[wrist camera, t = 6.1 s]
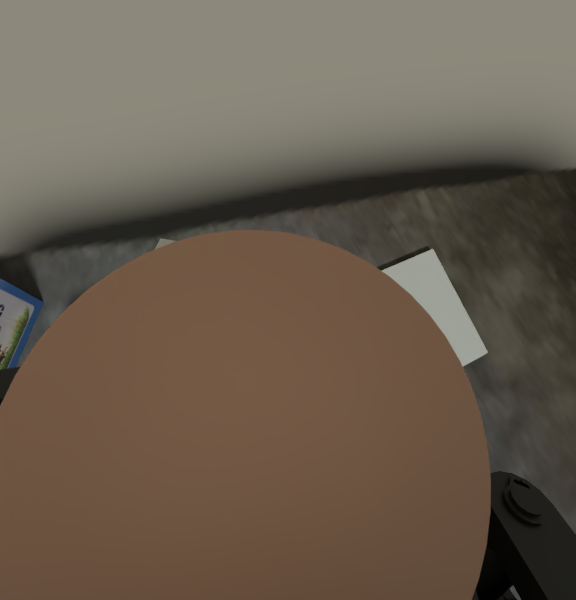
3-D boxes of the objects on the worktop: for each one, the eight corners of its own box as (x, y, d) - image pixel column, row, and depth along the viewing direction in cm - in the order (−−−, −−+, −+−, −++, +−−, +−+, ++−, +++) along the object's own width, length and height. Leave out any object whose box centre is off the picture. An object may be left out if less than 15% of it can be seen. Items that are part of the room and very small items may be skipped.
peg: (236, 351, 17) (367, 178, 3) (268, 425, 16) (568, 575, 3) (159, 384, 16) (-100, 331, 2) (190, 464, 15) (92, 970, 2)
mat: (430, 250, 34) (432, 248, 34) (484, 353, 33) (488, 352, 32) (291, 309, 30) (292, 308, 30) (346, 428, 29) (348, 429, 29)
